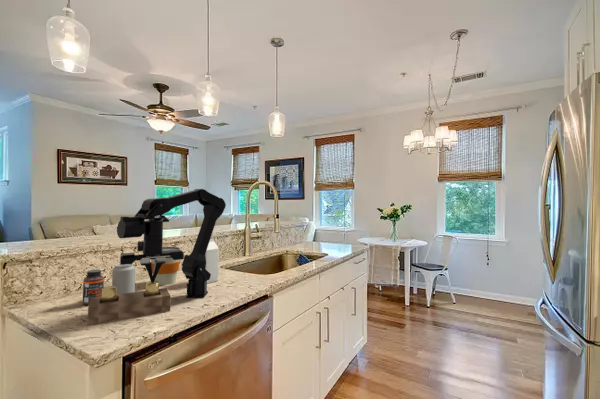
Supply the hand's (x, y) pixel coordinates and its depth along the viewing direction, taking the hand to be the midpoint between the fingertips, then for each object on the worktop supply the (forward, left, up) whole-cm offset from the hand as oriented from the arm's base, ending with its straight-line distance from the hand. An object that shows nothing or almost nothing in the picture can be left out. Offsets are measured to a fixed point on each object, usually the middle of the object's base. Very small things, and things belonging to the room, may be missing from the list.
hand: (152, 282), depth 96 cm
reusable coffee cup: (+9, -32, -9) cm, 35 cm away
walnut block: (+5, +3, -9) cm, 11 cm away
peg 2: (0, 0, -5) cm, 5 cm away
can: (+17, -14, -9) cm, 24 cm away
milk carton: (-9, -34, -9) cm, 36 cm away
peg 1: (+10, +6, -5) cm, 13 cm away
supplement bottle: (+23, -6, -9) cm, 26 cm away
